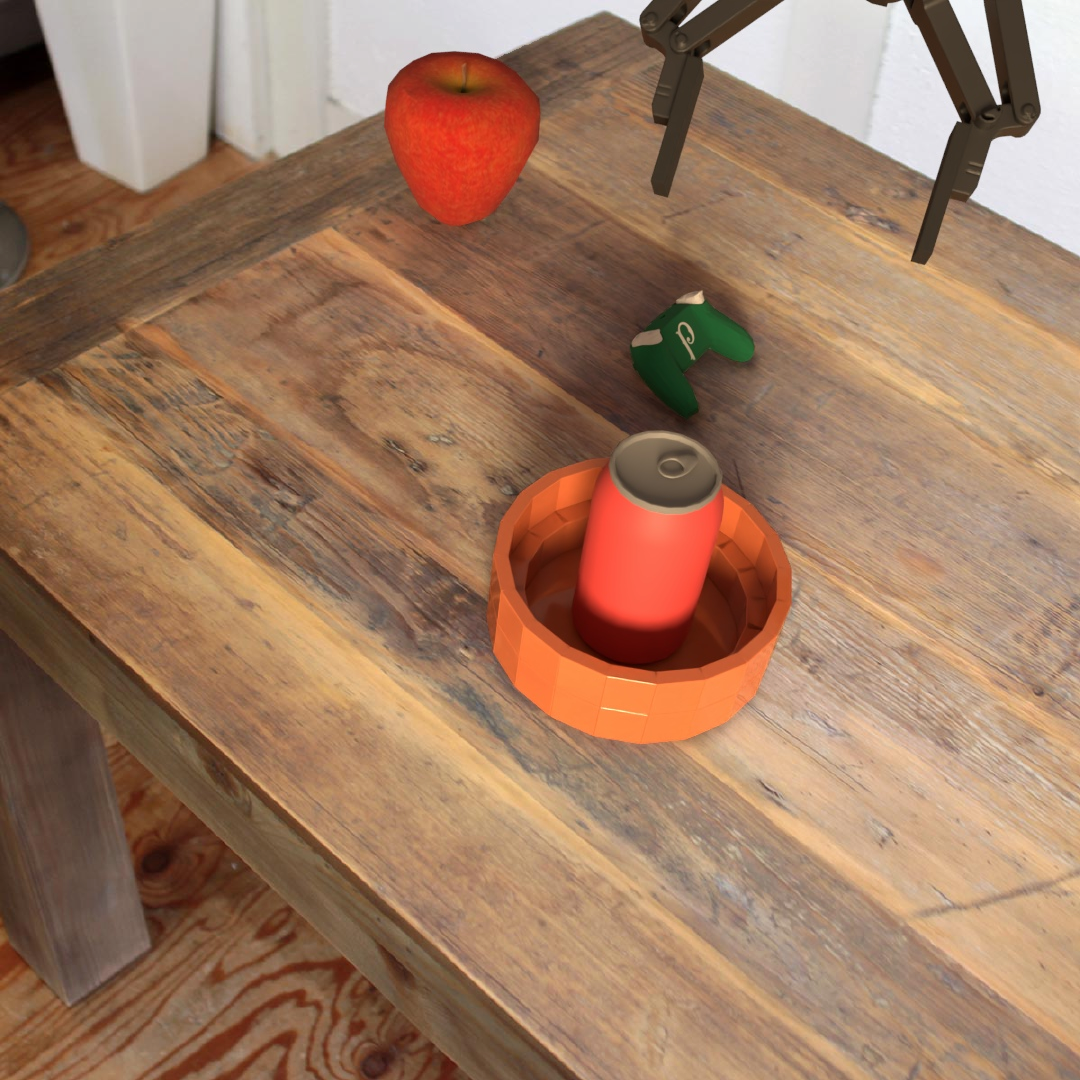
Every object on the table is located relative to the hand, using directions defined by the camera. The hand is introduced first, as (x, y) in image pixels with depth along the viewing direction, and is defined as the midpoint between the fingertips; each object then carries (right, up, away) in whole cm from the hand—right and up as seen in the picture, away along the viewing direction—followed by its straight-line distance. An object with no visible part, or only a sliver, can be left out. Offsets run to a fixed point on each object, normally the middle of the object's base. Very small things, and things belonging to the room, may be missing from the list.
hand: (787, 224), depth 68 cm
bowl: (-8, -21, +7) cm, 23 cm away
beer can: (-8, -21, +6) cm, 23 cm away
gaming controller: (-3, -5, +22) cm, 23 cm away
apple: (-19, +8, +32) cm, 38 cm away
